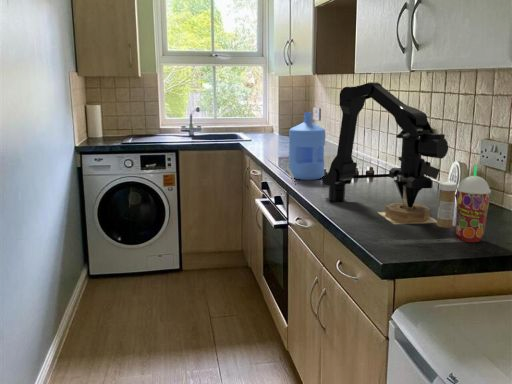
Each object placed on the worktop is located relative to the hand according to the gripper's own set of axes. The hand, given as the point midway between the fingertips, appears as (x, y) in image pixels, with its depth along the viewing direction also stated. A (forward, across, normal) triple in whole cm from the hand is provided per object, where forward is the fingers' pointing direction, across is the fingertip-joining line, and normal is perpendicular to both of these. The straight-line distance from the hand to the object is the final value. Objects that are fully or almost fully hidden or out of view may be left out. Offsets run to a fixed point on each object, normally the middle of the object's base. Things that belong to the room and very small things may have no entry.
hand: (407, 205), depth 155 cm
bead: (+4, 0, 0) cm, 4 cm away
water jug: (+5, +73, +16) cm, 75 cm away
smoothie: (+5, -20, -9) cm, 23 cm away
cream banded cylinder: (+2, 0, 0) cm, 2 cm away
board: (+5, 0, 0) cm, 5 cm away
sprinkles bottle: (+5, -10, -7) cm, 13 cm away
